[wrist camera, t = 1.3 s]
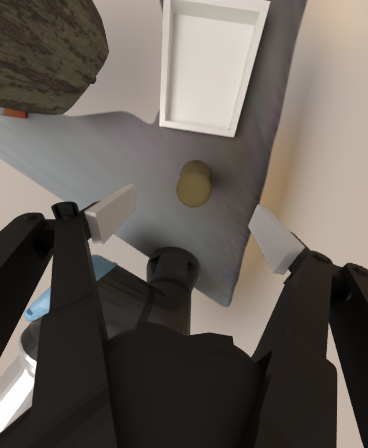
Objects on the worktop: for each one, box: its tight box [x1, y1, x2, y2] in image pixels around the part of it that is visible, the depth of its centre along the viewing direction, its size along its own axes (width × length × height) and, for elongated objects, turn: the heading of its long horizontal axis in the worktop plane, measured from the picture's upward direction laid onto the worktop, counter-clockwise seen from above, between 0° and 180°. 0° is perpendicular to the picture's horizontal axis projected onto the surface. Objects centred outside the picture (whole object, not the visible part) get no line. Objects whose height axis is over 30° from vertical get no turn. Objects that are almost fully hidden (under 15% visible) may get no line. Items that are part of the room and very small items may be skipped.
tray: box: [159, 0, 270, 138], centre depth 20 cm, size 13×12×3 cm
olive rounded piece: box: [176, 160, 212, 207], centre depth 24 cm, size 6×6×11 cm
